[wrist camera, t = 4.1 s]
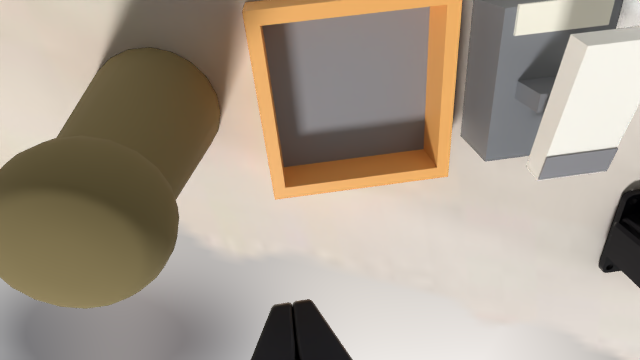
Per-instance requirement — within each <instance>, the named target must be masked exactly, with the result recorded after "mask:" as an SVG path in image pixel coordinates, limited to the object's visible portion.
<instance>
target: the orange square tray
mask: <svg viewBox="0 0 640 360" xmlns="http://www.w3.org/2000/svg"><path fill="white" fill-rule="evenodd" d="M461 10H462V0H263V1H254V2H245V4H244V7H243V10H242V14H243V19H244V25H245V31H246V37H247V42H248V48H249V54H250V59H251V65H252V71H253V77H254V82H255V88H256V94H257V100H258V105H259V111H260V117H261V123H262V128H263V134H264V140H265V146H266V151H267V157H268V163H269V168H270V174H271V180H272V186H273V191H274V197H275V200H276V199H283V198H291V197H298V196H306V195H313V194H321V193H328V192H336V191H343V190H350V189H358V188H365V187H373V186H380V185H388V184H395V183H403V182H410V181H418V180H425V179H433V178H440V177H448V170H449V157H450V145H451V133H452V121H453V108H454V96H455V84H456V71H457V59H458V47H459V34H460V22H461Z"/></svg>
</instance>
